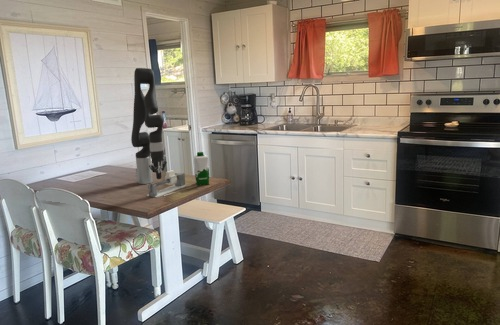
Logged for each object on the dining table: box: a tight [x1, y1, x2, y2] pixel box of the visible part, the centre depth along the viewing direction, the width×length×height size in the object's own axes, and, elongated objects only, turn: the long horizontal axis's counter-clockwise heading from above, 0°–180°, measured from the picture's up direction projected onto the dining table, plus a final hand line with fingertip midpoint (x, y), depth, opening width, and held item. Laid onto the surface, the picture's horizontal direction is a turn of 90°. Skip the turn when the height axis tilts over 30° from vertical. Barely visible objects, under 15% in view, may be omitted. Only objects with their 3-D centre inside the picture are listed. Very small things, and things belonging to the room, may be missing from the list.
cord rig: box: [146, 172, 187, 198], centre depth 235 cm, size 27×8×8 cm, turn 150°
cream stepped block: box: [164, 169, 177, 186], centre depth 237 cm, size 5×5×8 cm
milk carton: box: [193, 151, 210, 186], centre depth 247 cm, size 9×9×20 cm
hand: (159, 178), depth 229 cm, fingers closed
